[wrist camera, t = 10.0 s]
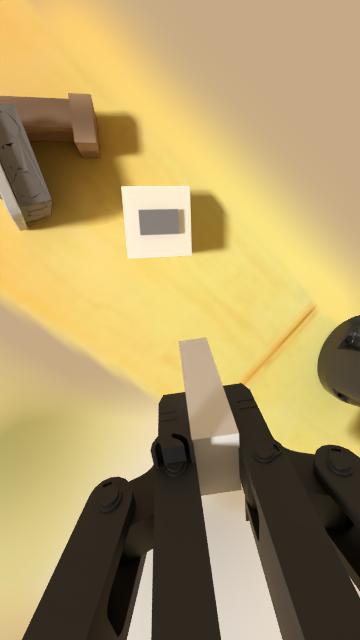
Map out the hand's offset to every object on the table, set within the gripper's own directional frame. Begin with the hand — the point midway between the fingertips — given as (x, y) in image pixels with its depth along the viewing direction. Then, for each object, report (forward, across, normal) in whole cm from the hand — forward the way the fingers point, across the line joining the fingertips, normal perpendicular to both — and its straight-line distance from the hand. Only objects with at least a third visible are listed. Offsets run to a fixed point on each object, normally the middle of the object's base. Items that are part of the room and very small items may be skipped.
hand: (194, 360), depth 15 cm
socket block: (+23, +2, -6) cm, 24 cm away
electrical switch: (+22, +15, -12) cm, 29 cm away
